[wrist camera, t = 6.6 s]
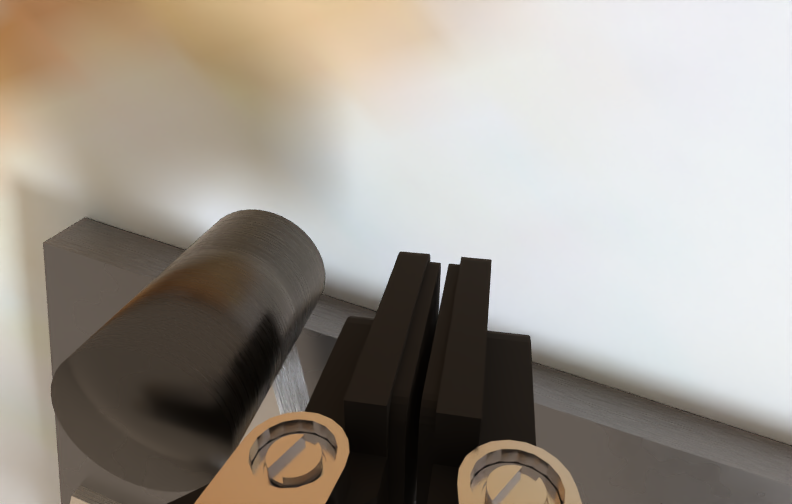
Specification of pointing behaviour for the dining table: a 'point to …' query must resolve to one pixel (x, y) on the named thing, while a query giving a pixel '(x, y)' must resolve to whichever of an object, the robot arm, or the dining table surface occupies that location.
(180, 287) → the knobbed lever handle
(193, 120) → the dining table surface
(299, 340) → the base plate
